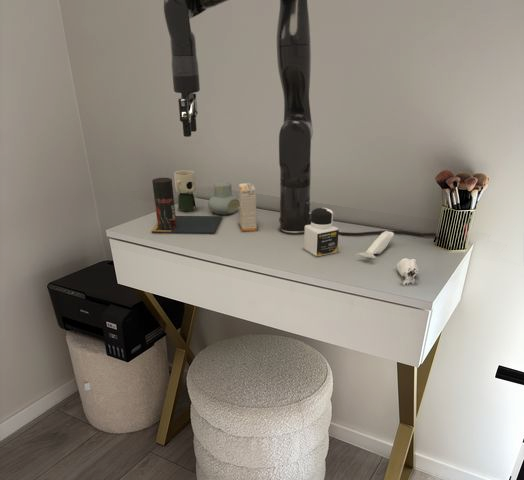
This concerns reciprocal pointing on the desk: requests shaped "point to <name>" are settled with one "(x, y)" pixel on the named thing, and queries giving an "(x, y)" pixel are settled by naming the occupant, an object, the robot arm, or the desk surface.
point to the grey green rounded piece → (223, 199)
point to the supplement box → (247, 206)
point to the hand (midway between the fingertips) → (190, 133)
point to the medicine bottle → (321, 233)
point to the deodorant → (164, 203)
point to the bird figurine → (408, 269)
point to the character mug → (185, 189)
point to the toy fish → (378, 245)
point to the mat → (193, 225)
